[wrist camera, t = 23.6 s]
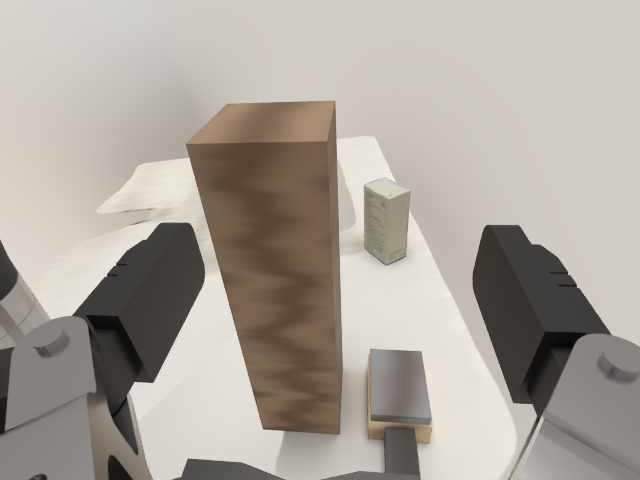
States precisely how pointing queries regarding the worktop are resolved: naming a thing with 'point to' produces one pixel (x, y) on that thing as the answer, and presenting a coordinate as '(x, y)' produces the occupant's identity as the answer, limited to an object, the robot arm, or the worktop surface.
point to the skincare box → (386, 219)
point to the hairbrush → (398, 407)
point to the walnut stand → (279, 252)
